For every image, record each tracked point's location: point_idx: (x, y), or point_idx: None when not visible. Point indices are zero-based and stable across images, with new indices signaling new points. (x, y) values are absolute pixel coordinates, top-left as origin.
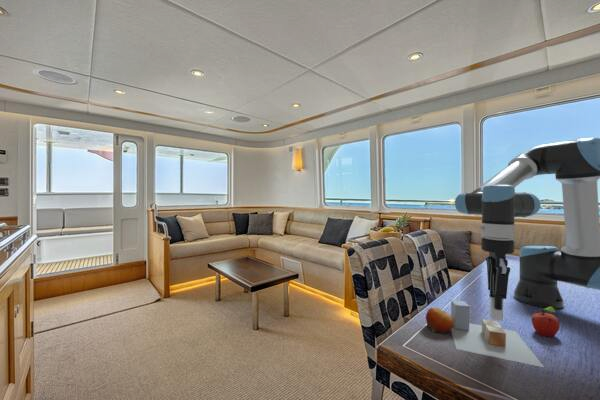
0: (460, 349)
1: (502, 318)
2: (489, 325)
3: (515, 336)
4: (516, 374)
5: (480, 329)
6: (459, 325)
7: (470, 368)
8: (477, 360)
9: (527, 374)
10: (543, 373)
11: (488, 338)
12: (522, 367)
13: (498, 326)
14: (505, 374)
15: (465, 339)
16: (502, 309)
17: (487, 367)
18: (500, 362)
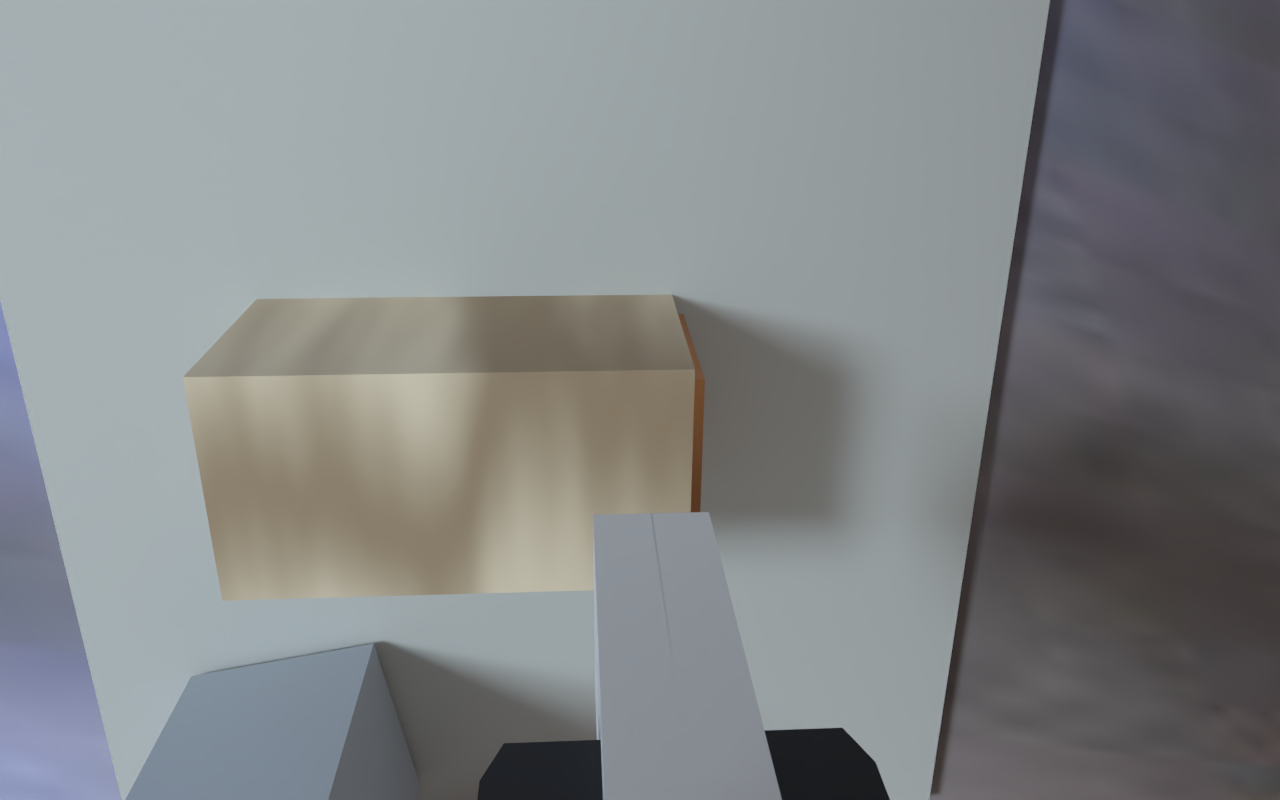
0: (923, 770)
1: (716, 550)
2: (462, 540)
3: (173, 27)
4: (1239, 336)
5: None
6: (397, 785)
7: (1225, 714)
8: (1062, 639)
9: (1214, 219)
10: (1151, 14)
11: None
12: (1077, 224)
13: (431, 413)
14: (1262, 443)
15: None
16: (749, 688)
17: (1171, 576)
18: (1035, 433)
